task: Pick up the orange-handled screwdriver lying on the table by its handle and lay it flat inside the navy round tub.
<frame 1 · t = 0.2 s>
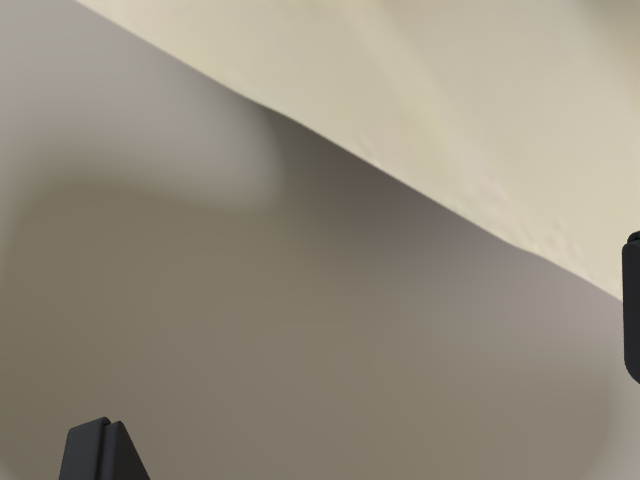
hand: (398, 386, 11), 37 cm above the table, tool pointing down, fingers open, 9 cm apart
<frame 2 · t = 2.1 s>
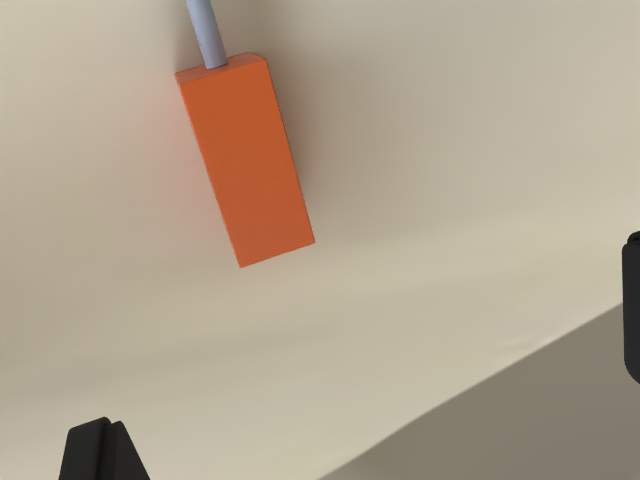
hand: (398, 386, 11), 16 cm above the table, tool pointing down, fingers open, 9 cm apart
screwdriver: (220, 88, 23), on the table
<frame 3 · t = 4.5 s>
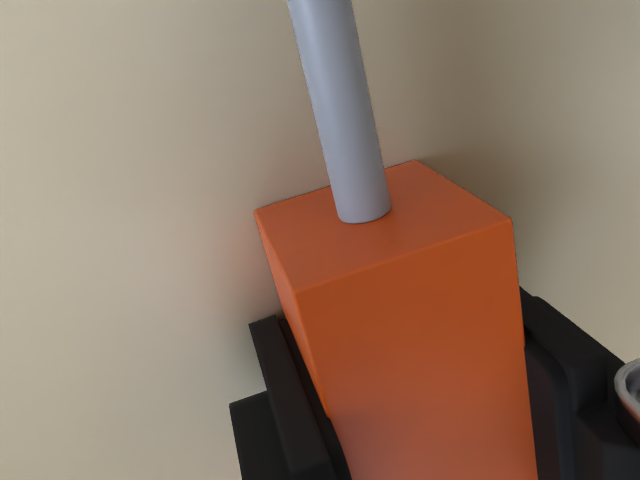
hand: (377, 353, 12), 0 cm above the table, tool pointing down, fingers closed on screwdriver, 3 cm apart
screwdriver: (347, 234, 11), on the table, touching gripper
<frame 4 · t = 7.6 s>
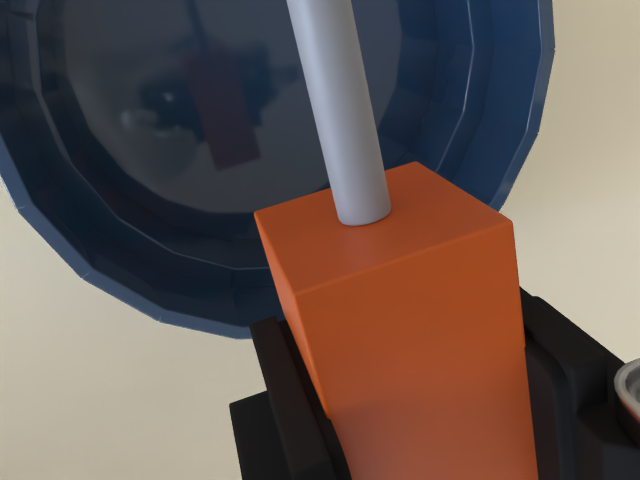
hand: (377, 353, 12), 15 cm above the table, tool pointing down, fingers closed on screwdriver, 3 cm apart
screwdriver: (348, 236, 11), point 14 cm above the table, touching gripper
navy round tub: (257, 60, 23), on the table
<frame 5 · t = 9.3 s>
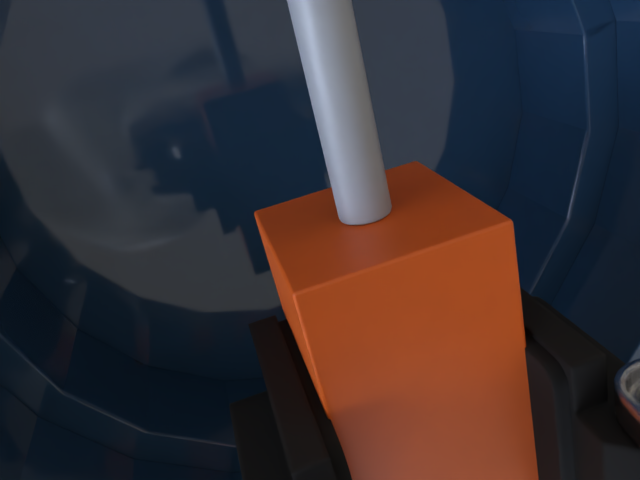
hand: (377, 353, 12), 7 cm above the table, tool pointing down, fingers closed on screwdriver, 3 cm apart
screwdriver: (348, 236, 11), point 6 cm above the table, touching gripper
navy round tub: (270, 140, 16), on the table
when the fingers open (2 cm above the table, at t = 11.0 s): screwdriver stays where it is, resting on navy round tub.
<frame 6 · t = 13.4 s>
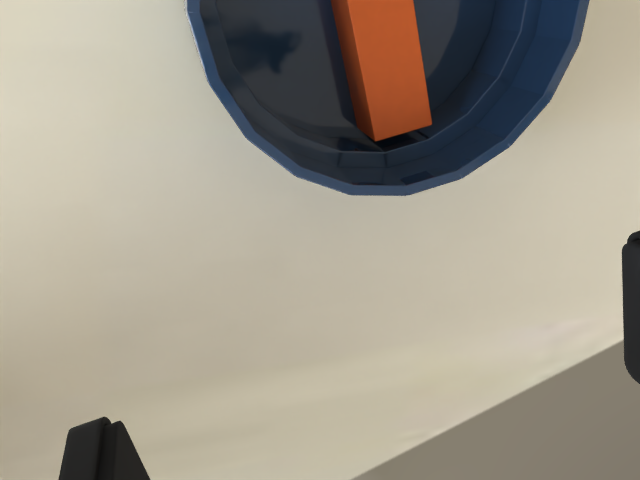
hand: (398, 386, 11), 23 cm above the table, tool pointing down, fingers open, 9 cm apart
screwdriver: (361, 3, 30), resting on navy round tub
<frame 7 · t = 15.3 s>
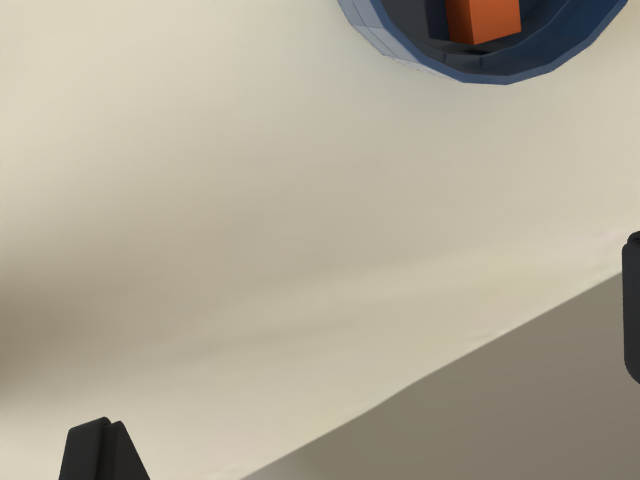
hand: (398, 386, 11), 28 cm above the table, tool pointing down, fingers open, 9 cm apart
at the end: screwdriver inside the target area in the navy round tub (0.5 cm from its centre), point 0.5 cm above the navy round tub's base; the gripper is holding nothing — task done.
